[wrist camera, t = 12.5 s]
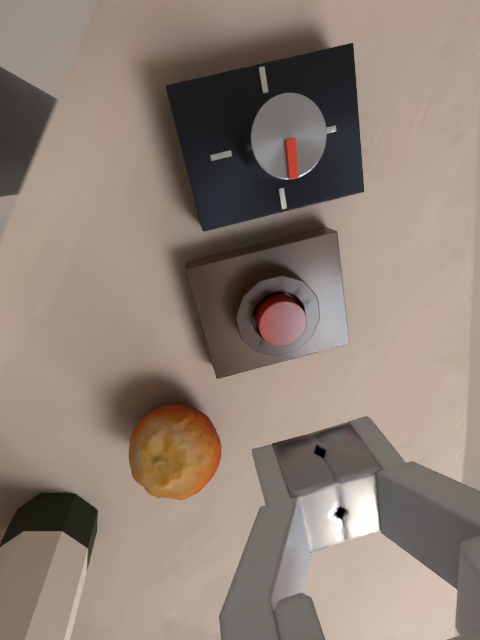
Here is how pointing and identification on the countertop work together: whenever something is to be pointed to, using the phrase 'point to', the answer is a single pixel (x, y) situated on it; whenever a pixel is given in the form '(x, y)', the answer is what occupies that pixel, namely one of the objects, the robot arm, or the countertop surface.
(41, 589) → the wine bottle
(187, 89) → the dial panel
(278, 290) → the button box
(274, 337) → the red button
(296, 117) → the dial
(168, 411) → the fruit
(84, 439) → the countertop surface
